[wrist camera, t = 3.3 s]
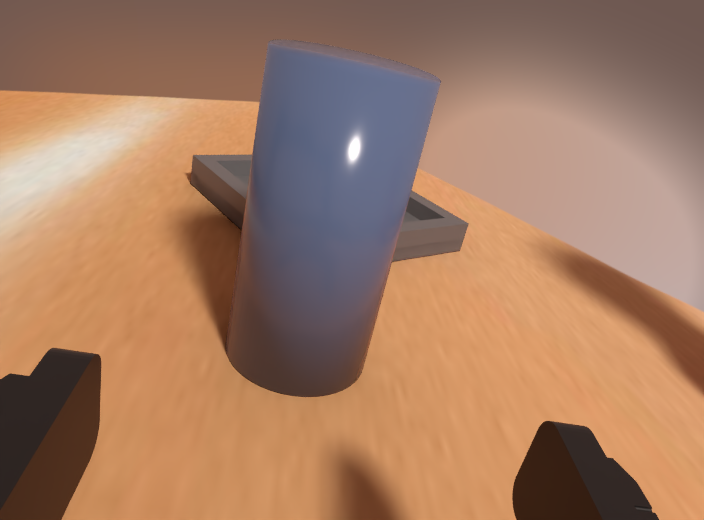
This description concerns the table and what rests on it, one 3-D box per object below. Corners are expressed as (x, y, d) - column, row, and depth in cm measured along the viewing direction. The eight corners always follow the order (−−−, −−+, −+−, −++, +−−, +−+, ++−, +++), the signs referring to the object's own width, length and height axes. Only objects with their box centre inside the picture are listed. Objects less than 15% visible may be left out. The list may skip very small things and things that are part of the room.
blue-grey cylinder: (270, 413, 19) (336, 76, 15) (201, 326, 23) (236, 32, 18) (391, 374, 23) (476, 90, 18) (314, 303, 26) (368, 50, 21)
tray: (293, 277, 28) (299, 243, 27) (190, 183, 36) (193, 155, 35) (459, 250, 35) (468, 223, 34) (344, 177, 43) (349, 154, 42)
